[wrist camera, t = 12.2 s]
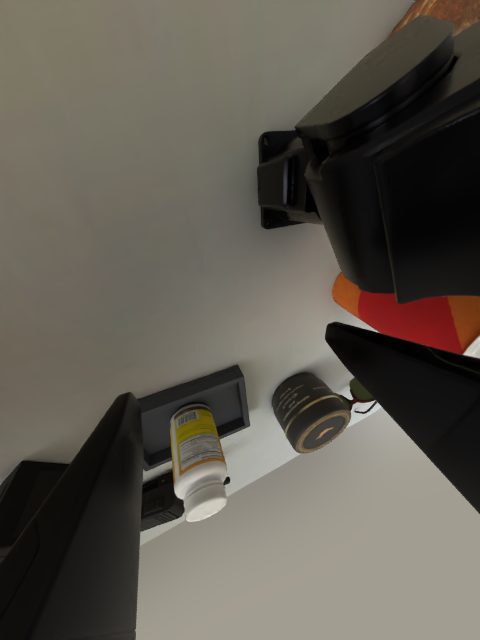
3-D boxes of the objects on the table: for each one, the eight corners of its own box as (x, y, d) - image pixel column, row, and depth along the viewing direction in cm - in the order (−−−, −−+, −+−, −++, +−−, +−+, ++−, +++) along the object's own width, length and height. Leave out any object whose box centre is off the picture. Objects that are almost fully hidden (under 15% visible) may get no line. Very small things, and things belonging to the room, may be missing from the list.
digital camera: (-6, 490, 22) (-62, 588, 16) (20, 460, 21) (-27, 552, 16) (92, 490, 28) (76, 562, 22) (115, 467, 27) (105, 536, 22)
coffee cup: (386, 268, 27) (574, 323, 15) (348, 318, 29) (482, 400, 17) (354, 239, 22) (584, 283, 10) (312, 301, 25) (459, 394, 13)
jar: (257, 408, 33) (280, 456, 26) (293, 363, 30) (329, 405, 24) (294, 413, 38) (320, 454, 32) (327, 376, 35) (363, 412, 29)
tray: (238, 364, 26) (243, 376, 24) (245, 414, 32) (250, 426, 31) (109, 409, 22) (105, 426, 20) (146, 455, 28) (145, 471, 27)
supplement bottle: (195, 431, 29) (211, 523, 21) (160, 425, 26) (163, 532, 17) (219, 405, 28) (246, 491, 20) (185, 396, 25) (201, 495, 16)
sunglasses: (368, 370, 40) (391, 390, 36) (355, 404, 50) (372, 423, 46) (308, 401, 38) (326, 426, 34) (306, 431, 47) (320, 453, 43)
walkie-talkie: (84, 521, 27) (220, 465, 29) (111, 491, 33) (222, 447, 35) (93, 571, 26) (234, 510, 28) (119, 531, 32) (233, 483, 34)
